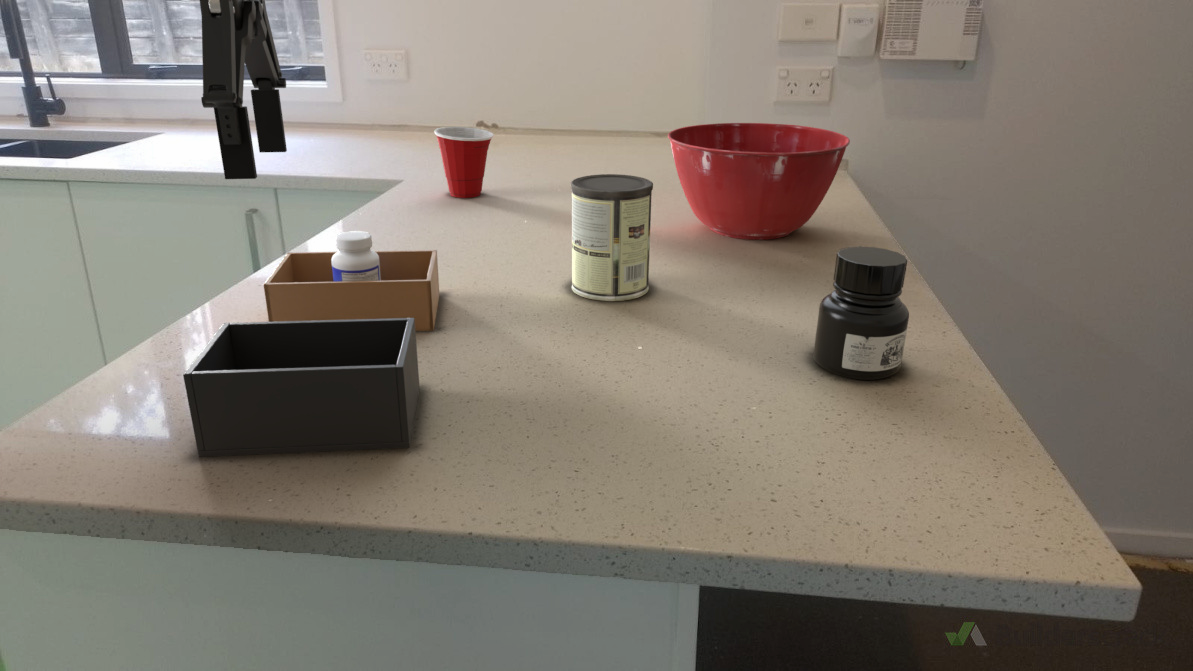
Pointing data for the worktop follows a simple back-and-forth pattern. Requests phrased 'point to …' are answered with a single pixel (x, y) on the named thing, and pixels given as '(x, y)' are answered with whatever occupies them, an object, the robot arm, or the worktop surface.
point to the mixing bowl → (755, 175)
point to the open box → (305, 387)
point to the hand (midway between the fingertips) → (258, 164)
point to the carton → (355, 289)
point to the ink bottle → (863, 315)
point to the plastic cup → (464, 158)
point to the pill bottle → (355, 258)
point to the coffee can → (611, 236)
